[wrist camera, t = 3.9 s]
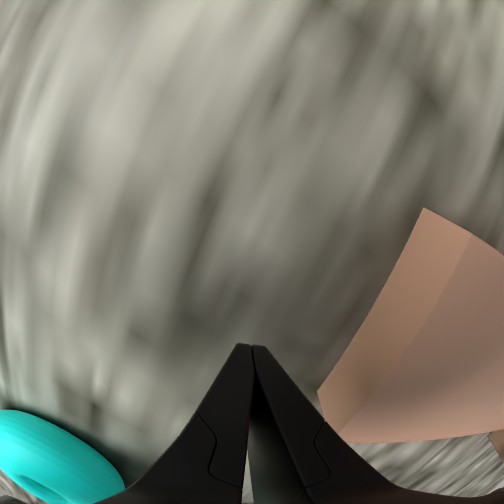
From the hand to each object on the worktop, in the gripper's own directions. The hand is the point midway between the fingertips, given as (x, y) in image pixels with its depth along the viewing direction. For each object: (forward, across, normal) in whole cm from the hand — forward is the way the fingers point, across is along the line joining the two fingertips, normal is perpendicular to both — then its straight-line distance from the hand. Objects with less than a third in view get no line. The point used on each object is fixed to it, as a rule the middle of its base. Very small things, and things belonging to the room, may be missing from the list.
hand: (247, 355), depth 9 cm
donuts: (+1, +10, +13) cm, 17 cm away
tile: (+2, -11, 0) cm, 12 cm away
